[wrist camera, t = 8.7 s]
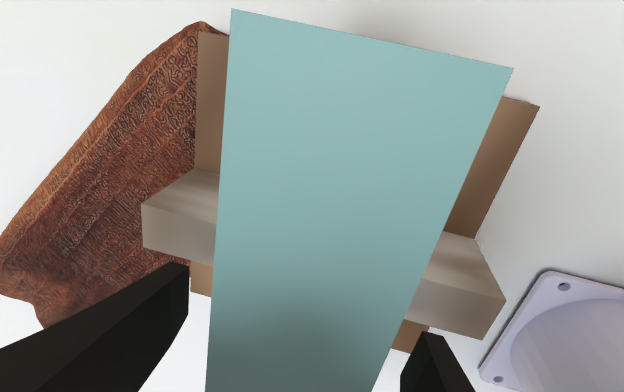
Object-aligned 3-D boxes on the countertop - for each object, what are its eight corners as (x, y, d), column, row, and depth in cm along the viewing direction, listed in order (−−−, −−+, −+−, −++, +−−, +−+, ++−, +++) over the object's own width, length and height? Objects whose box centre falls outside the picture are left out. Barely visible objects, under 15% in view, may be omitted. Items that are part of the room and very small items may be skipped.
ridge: (528, 102, 13) (611, 131, 8) (413, 340, 19) (425, 430, 15) (209, 32, 14) (131, 25, 9) (198, 280, 20) (148, 347, 16)
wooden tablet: (187, -29, 12) (346, 179, 13) (218, -13, 14) (353, 166, 15) (-38, 276, 23) (62, 378, 24) (-2, 260, 25) (89, 355, 26)
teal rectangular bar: (317, 413, 15) (295, 563, 11) (246, 392, 16) (195, 530, 11) (438, 56, 8) (513, 68, 4) (304, 28, 9) (231, 8, 4)
